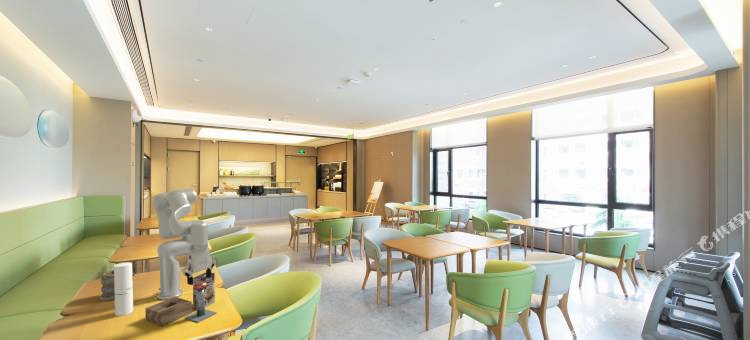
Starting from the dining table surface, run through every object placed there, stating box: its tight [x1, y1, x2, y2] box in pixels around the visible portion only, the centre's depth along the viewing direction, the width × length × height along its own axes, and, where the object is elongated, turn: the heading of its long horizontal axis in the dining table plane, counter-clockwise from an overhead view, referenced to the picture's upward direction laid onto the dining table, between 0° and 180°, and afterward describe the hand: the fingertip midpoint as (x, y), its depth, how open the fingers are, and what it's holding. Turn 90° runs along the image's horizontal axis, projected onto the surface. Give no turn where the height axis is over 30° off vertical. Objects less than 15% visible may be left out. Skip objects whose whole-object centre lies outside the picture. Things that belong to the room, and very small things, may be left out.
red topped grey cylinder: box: [192, 281, 207, 317], centre depth 153 cm, size 6×6×16 cm
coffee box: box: [192, 272, 216, 309], centre depth 165 cm, size 9×6×16 cm
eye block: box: [144, 297, 193, 327], centre depth 153 cm, size 14×14×6 cm
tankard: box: [99, 269, 136, 302], centre depth 178 cm, size 20×13×15 cm, turn 76°
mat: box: [184, 308, 218, 323], centre depth 153 cm, size 10×10×1 cm
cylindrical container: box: [113, 261, 134, 317], centre depth 157 cm, size 7×7×25 cm
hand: (199, 281), depth 153 cm, fingers open, 9 cm apart
